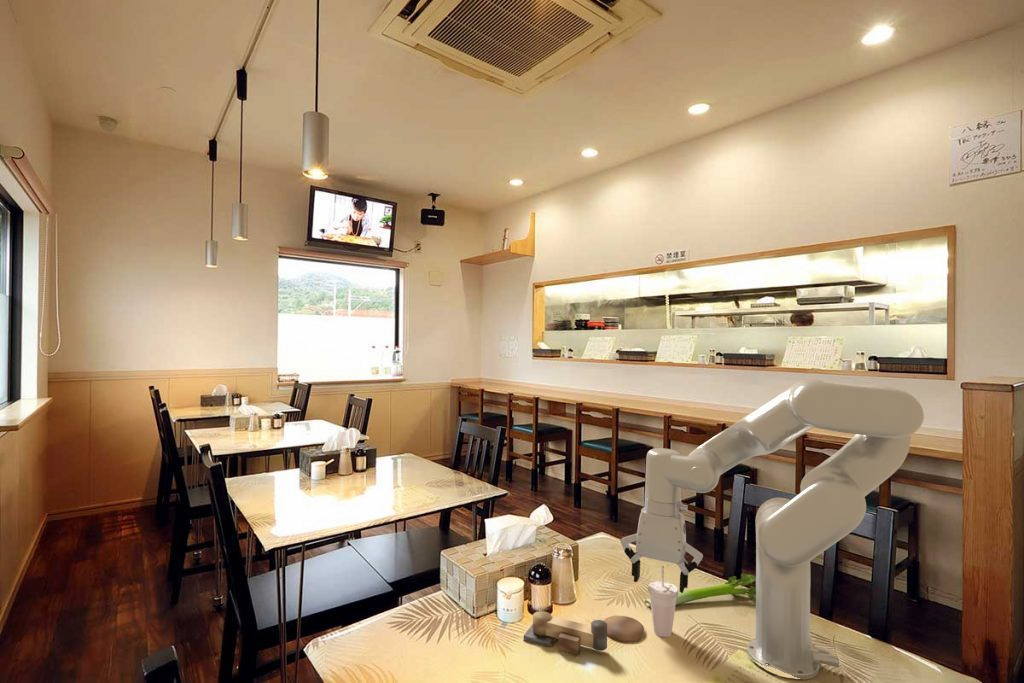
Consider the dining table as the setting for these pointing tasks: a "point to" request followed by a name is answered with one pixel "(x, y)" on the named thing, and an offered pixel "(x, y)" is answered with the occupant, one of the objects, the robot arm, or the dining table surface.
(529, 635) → the pivot plate
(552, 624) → the leg
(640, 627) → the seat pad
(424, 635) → the dining table surface
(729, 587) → the leek
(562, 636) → the block
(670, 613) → the smoothie
